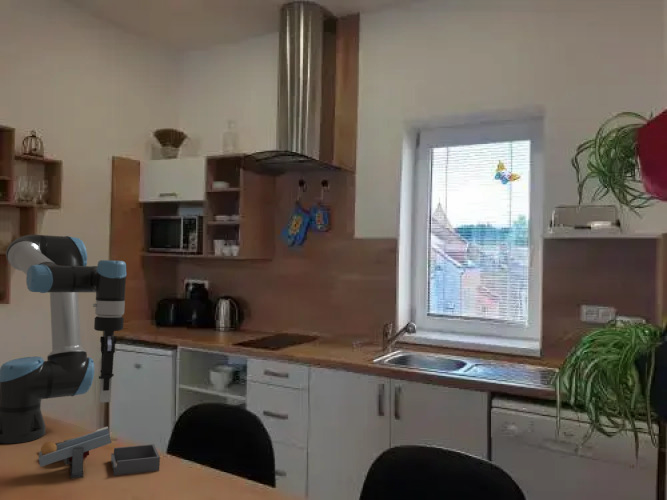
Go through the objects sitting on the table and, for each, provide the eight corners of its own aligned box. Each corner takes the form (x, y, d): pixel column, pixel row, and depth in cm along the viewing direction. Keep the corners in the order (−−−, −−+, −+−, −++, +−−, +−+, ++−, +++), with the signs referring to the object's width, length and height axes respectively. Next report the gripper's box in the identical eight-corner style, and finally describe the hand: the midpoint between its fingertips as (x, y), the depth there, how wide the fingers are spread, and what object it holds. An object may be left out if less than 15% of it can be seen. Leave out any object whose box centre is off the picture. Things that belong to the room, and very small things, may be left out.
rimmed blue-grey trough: (42, 451, 150) (40, 442, 150) (108, 429, 157) (106, 421, 157) (40, 467, 139) (38, 458, 139) (111, 443, 146) (109, 434, 146)
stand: (70, 466, 148) (71, 439, 149) (82, 465, 150) (84, 438, 150) (70, 478, 141) (71, 449, 141) (83, 477, 142) (84, 448, 142)
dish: (111, 460, 154) (111, 448, 154) (153, 456, 159) (154, 444, 159) (114, 475, 144) (114, 461, 144) (159, 470, 149) (159, 457, 149)
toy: (36, 464, 156) (65, 466, 148) (35, 441, 157) (64, 441, 149) (66, 456, 163) (95, 458, 155) (65, 434, 164) (94, 434, 156)
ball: (44, 456, 144) (38, 444, 143) (59, 449, 145) (53, 437, 144) (44, 461, 140) (38, 448, 140) (59, 453, 142) (53, 441, 141)
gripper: (93, 313, 159) (89, 397, 159) (95, 318, 148) (91, 408, 147) (121, 313, 163) (117, 395, 162) (126, 318, 151) (121, 406, 150)
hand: (105, 401), depth 154 cm, fingers closed
